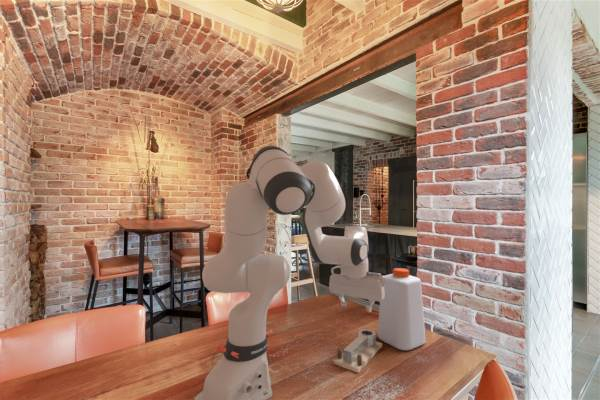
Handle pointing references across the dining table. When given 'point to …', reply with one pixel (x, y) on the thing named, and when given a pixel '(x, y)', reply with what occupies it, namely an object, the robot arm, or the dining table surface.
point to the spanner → (359, 345)
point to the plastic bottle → (402, 311)
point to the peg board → (361, 359)
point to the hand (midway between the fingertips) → (356, 308)
